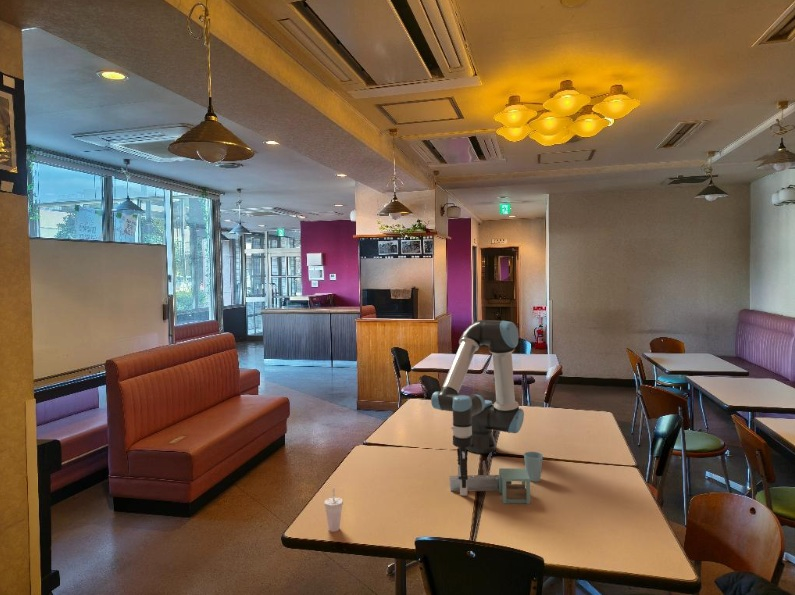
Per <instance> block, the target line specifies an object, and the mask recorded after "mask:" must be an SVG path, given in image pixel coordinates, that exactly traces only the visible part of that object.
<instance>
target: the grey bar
mask: <svg viewBox="0 0 795 595" xmlns="http://www.w3.org/2000/svg"><path fill="white" fill-rule="evenodd" d="M467 475H468V474H467ZM459 477H461V476H458V475H449V489H450V490H449V491H450V492H460V479H459ZM506 484H512V481H506ZM467 490H476V491H475V492H494V491H495V492H499V474H484V475H483V474H481V475H480V474H478V475H477V474H476V475H473V474H471V475H468V480H467Z"/></svg>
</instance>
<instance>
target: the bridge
mask: <svg viewBox="0 0 795 595" xmlns="http://www.w3.org/2000/svg"><path fill="white" fill-rule="evenodd" d="M498 475H499V491H498V493H499V494H502V501H501V502H502V504H527V505H529V504H531V481H530V478H529V476H528V474H527V472H526V469H525V468H511V467H510V468H504V467H503V468H498ZM506 481H511V482H521V484H524V486H525V488H526V499H506Z"/></svg>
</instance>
